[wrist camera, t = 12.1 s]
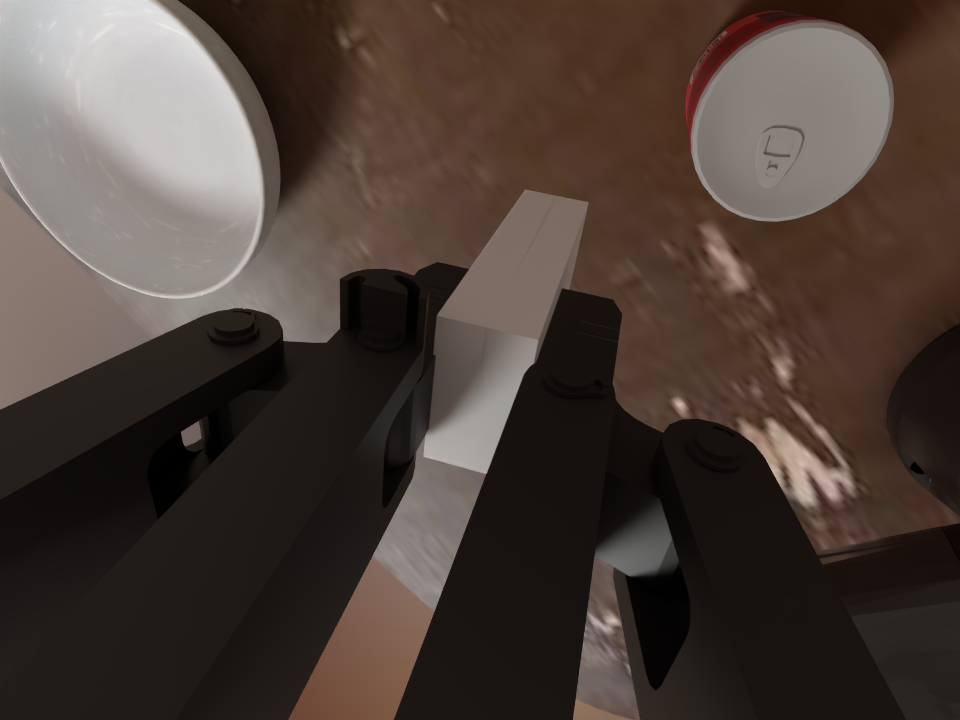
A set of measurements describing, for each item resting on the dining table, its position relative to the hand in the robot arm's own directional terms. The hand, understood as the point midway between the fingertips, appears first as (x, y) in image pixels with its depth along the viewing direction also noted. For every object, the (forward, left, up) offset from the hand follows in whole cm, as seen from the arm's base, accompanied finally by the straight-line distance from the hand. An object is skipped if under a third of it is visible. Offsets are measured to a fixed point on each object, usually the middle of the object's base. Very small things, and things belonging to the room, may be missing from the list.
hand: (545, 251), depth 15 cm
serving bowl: (+30, +7, -26) cm, 41 cm away
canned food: (-8, -1, -26) cm, 27 cm away
